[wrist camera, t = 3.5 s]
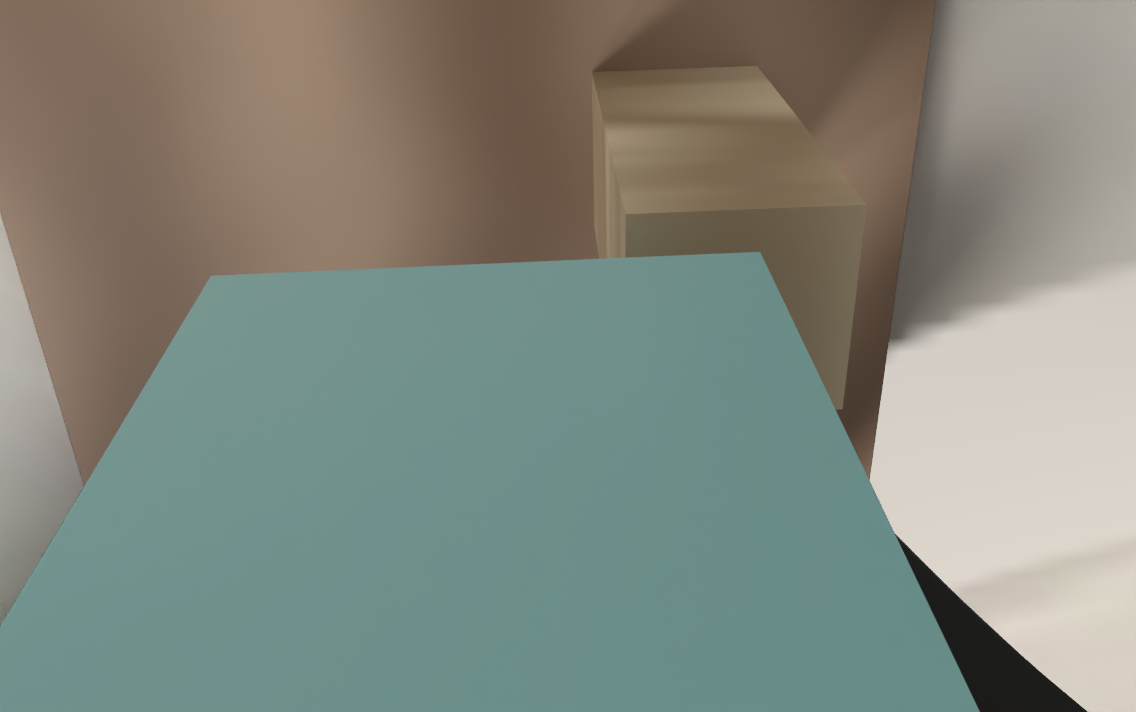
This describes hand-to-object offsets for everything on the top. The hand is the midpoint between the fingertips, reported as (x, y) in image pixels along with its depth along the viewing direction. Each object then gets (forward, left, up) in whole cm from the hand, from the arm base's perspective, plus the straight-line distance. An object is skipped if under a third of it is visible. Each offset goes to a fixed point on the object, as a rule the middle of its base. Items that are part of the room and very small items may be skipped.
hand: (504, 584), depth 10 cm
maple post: (+3, +1, -10) cm, 10 cm away
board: (-1, -2, -10) cm, 10 cm away
